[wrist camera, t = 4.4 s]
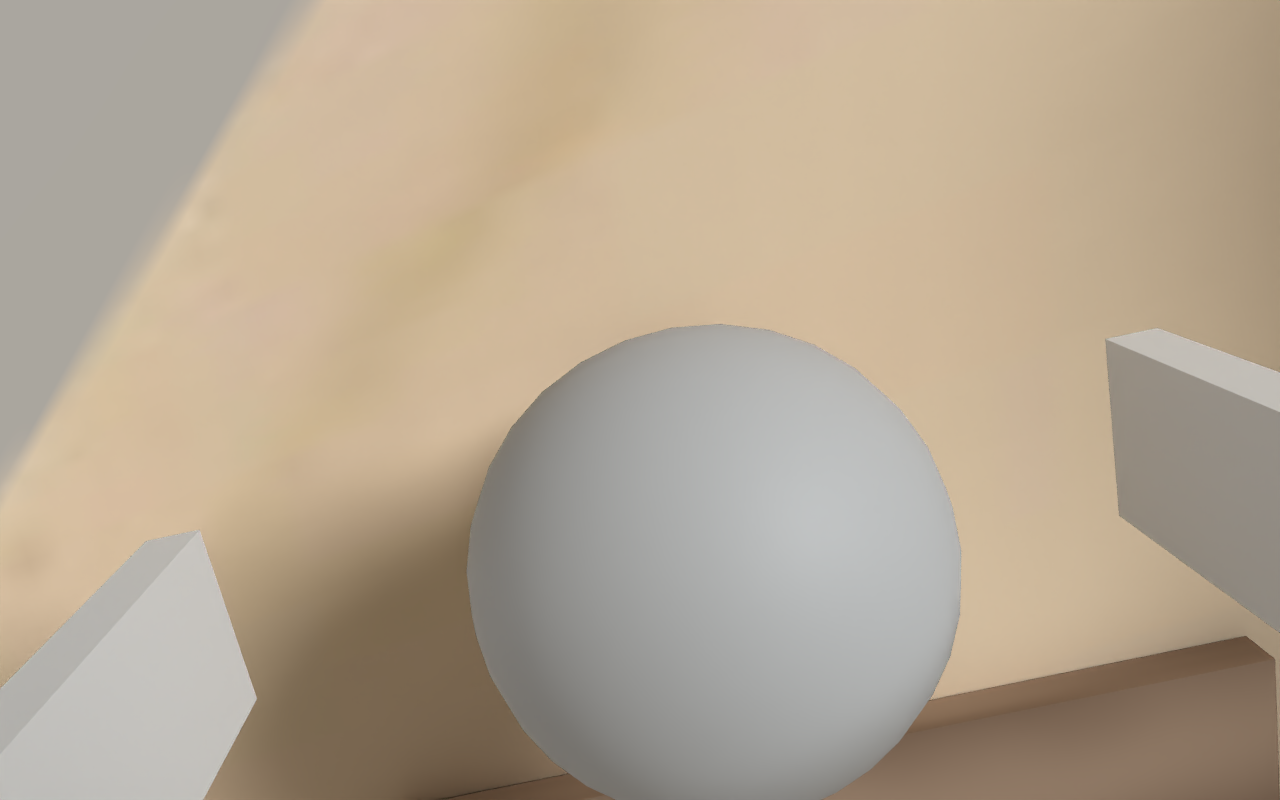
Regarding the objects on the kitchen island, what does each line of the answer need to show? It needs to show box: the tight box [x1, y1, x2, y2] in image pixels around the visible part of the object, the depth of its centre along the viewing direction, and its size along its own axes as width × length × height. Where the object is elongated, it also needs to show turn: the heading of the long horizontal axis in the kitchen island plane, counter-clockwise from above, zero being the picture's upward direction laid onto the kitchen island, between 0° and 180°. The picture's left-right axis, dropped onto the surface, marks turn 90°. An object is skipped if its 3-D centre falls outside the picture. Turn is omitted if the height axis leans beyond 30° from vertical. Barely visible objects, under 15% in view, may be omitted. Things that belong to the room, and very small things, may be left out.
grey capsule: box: [467, 324, 961, 800], centre depth 16 cm, size 6×6×11 cm
